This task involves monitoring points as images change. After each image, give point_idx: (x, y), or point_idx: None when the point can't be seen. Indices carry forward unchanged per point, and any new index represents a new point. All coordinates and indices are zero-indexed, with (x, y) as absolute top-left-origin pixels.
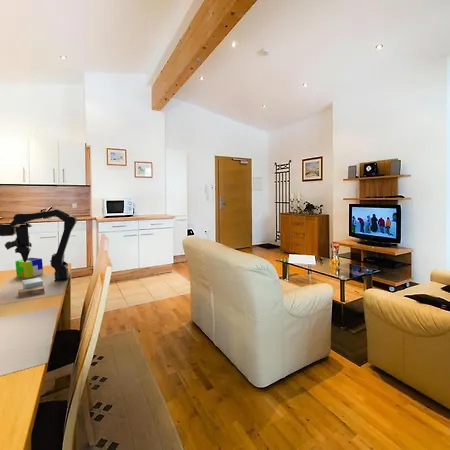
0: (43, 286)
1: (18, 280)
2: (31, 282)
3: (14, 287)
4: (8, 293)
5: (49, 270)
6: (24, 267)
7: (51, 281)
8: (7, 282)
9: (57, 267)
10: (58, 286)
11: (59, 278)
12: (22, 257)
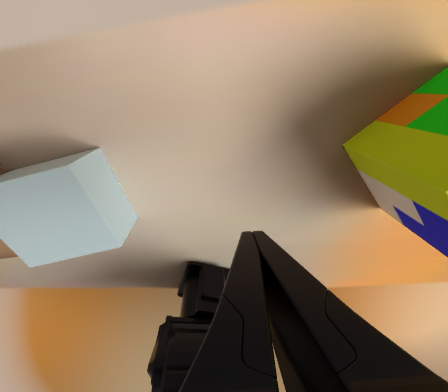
0: (16, 255)
1: (324, 92)
2: (4, 223)
3: (153, 91)
4: (19, 74)
5: None
6: (431, 145)
7: (192, 250)
8: (323, 13)
9: (155, 346)
10: (97, 276)
11: (185, 283)
12: (225, 288)
